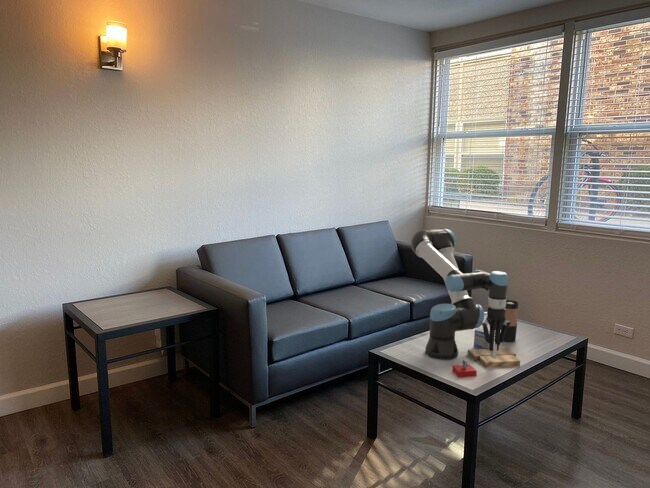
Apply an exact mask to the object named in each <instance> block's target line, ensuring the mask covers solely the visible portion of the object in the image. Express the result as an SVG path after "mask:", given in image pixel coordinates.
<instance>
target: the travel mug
mask: <svg viewBox="0 0 650 488" xmlns="http://www.w3.org/2000/svg"><path fill="white" fill-rule="evenodd" d="M505 308H506V312H505V318H506V320H507V321H509V322H510V325H509V327H508V329H507V332H506V335H505V338H504V341H503V343H515V342H516V341H517V340H516V337H517V329H518V327H517V326H518V315H519V314H518V313H519V312H518V311H519V310H518V309H519V303H518V302H517V301H516V300H509V299H506V307H505ZM502 326H503V324H502ZM502 326H501V330H502ZM501 330H500V331H501Z"/></svg>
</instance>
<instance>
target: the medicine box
mask: <svg viewBox="0 0 650 488" xmlns="http://www.w3.org/2000/svg"><path fill="white" fill-rule="evenodd" d="M488 332H489V335H490V330H488ZM473 334H474V335H473V336H474V339H473V347H474V348H476V349H489V343H487V342H486V341H485V336H484V330H483V328H480V327H478V328H475V330H474V333H473Z"/></svg>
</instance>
